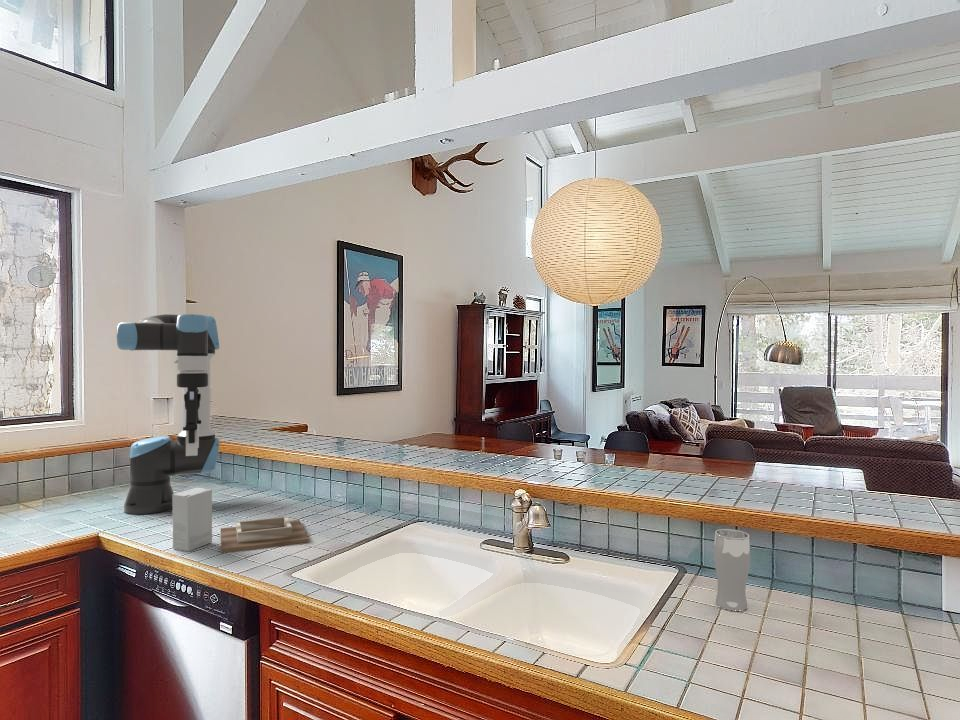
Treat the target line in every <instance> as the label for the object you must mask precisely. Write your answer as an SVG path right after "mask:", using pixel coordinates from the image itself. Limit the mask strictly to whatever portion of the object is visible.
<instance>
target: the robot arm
mask: <svg viewBox="0 0 960 720" xmlns="http://www.w3.org/2000/svg"><path fill="white" fill-rule="evenodd" d="M217 327H218V326H217V321H216V319H215V317H214V316H211V315H205V314H186V313H185V314H184V313H183V314H171V313H170V314H159V315H158V314H157V315H153V316H147V317H144V318H142V319H140V320H139V321H137V322H134V321H133V322H132V321H129V322H120V323H118V324H117V329H116V345H117V347H118V349H119V350H123V351H130V352H131V351H132V352H133V351H176V352H177V353H176V359H174V360H173V361H174V362H173V363H174V364H177V365H176V370H177V371H178V372H179V373H177V374H176V387H178V388H182V400H181V401H182V404H181V405H182V412H181V413H182V423H181V424H182V427H181V428H182V430H181V431H180V432H179V433H178V434H177V435H176V436H177V440H172V439H171V437H170V436H167V435H165V436H155V437H150V438H149V437H148V438H145V439H140V440H137V441H135V442H133V443H132V444H131V446H130V452H129V459H130V463H129V464H130V468H129V469H130V472H129V473H130V474H129V475H130V477H129V480H130V484H129V490H128V493H127V495H126V499H125V501H124V504H123V512H124V513H126V514H132V515H145V514H155V513H161V512H165V511H169V510H173V501H172V497H173V496H172V495H173V494H175V493H174V489H173V487H172V485H171V477H172V476H179V475H180V476H181V475H183V476H185V475H192V474H194V475H195V474H196V475H197V474H199V475H200V474H201V475H202V474H206V473H208V474H209V473H212V472H213V471H215V470H216V467H217V465H218V464H217V462H218V456H219V450H220V449H219V448H220V438H219V437H216V433H215V432H214V431H213V430H212V428H211V359H212V358H213V357H214V356H215V355H216V351H217V350H219V349H220V342H219V341H220V339H219V334H218V333H219V332H218V328H217Z"/></svg>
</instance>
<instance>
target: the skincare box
mask: <svg viewBox="0 0 960 720" xmlns="http://www.w3.org/2000/svg"><path fill="white" fill-rule="evenodd" d="M172 496H173V497H172V501H173V508H172V528H173V533H172V549H175V550H177V551H183V550H184V551H183V552H191V551H193V550H196V549H198V548H200V547H203V546H205V545H207V544H211V543H212V542H213V490H212V489H210V488H202V487H194V488H191V489H188V490H183V491H181V492H177V493H174V494H173V495H172Z"/></svg>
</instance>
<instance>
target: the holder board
mask: <svg viewBox="0 0 960 720" xmlns="http://www.w3.org/2000/svg"><path fill="white" fill-rule="evenodd" d="M305 543H307V544H308V543H310V538H309V535H308V533H307V532H306V530H305V528H304V526H303V524H302V523H301V520H300V519H296V520H295V519H293V520H289V517H288V516H287V515H286V516H278V517H267V518H258V519H249V520H240V521H239V520H238V521H235V526H231V527H229V526H228V527H220V546H221V550H220V551H221V554H224V553H231V552H232V553H233V552H240V551H248V550H249V551H250V550H256V549H264V548H273V547H280V546H281V547H282V546H290V545H298V544H305Z"/></svg>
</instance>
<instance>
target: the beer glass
mask: <svg viewBox="0 0 960 720" xmlns="http://www.w3.org/2000/svg"><path fill="white" fill-rule="evenodd" d="M750 542H751V541H750V534H749V533H747V532H745V531H742V530H738V529H733V528H732V529H731V528H730V529H729V528H720V529H717V530H715V531H714V542H713V560H714V569H715V574H716V580H717V581H716V582H717V592H716V593H717V594H716V597H715V598H716V599H715V605H716V604H717V605H718V606H720V607H722V608H725V609H728V610H734V611H735V610H736V611H739V610H741V611H742V610H745V609H747V610H748V608H747V607H748V601H747V595H746V594H747V593H746V588H747V581H748V577H749V571H750V566H751V543H750ZM717 605H716V606H717ZM718 606H717V607H718ZM720 607H719V608H720ZM722 608H721V609H722ZM728 610H727V611H728ZM745 611H746V610H745ZM742 612H743V611H742Z"/></svg>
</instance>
